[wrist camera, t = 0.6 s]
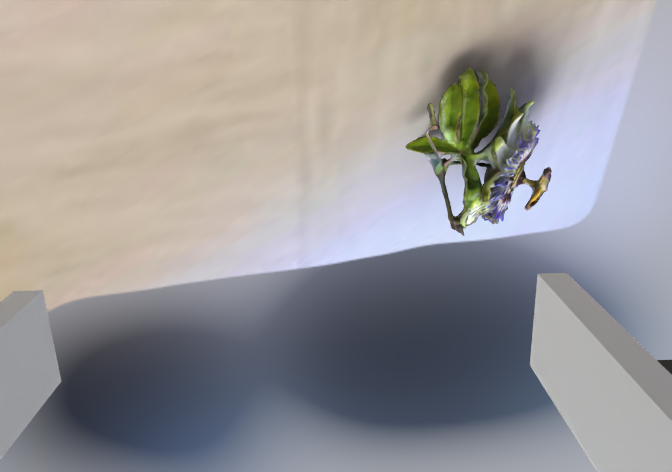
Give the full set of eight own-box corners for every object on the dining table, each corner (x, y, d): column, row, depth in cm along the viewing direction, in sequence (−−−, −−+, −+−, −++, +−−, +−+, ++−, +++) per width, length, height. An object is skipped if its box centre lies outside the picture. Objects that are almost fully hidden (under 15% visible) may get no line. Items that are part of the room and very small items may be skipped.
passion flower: (471, 115, 57) (522, 227, 54) (371, 136, 54) (419, 257, 51) (534, 42, 47) (601, 175, 44) (415, 62, 43) (479, 208, 40)
